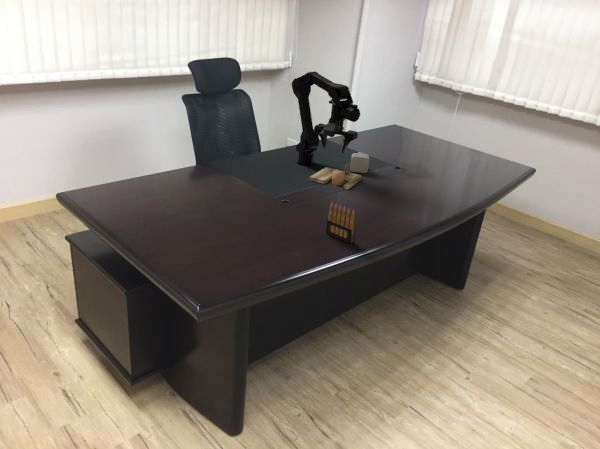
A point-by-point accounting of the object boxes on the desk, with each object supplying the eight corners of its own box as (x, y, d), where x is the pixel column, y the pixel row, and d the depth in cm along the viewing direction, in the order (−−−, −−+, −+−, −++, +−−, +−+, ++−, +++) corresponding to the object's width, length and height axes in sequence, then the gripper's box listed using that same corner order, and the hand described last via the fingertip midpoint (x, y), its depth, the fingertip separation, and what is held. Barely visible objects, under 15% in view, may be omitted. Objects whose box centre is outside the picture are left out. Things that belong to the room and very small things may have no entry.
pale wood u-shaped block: (309, 180, 216) (310, 167, 214) (325, 170, 229) (326, 157, 227) (347, 189, 209) (348, 176, 206) (361, 178, 222) (363, 166, 219)
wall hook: (367, 164, 238) (369, 146, 232) (367, 176, 230) (369, 158, 224) (350, 163, 239) (352, 144, 232) (349, 175, 231) (351, 156, 225)
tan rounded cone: (334, 180, 218) (335, 169, 216) (345, 182, 216) (346, 172, 214) (330, 183, 214) (331, 172, 212) (340, 186, 212) (341, 175, 210)
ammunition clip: (325, 233, 172) (328, 201, 167) (328, 231, 173) (331, 199, 168) (350, 243, 166) (354, 211, 160) (353, 242, 167) (357, 209, 162)
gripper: (309, 115, 210) (306, 150, 217) (349, 124, 202) (344, 160, 209) (321, 110, 219) (318, 144, 226) (360, 118, 211) (355, 153, 218)
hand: (333, 150), depth 220 cm, fingers open, 9 cm apart
